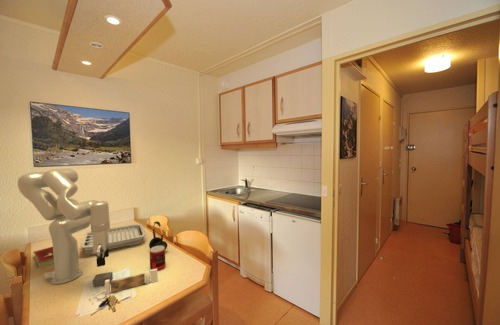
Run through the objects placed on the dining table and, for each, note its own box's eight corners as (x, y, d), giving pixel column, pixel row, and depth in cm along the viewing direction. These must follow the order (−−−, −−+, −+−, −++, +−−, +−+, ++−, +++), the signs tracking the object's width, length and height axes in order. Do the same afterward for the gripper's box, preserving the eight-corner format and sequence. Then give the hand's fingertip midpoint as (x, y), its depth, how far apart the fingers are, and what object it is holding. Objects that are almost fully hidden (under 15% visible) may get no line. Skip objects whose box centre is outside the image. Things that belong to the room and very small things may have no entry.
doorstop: (93, 288, 101) (92, 280, 100) (96, 282, 105) (96, 274, 105) (110, 285, 103) (109, 277, 103) (112, 279, 108) (112, 271, 108)
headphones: (155, 258, 128) (154, 226, 127) (147, 250, 138) (146, 220, 137) (169, 253, 134) (168, 222, 133) (160, 246, 144) (159, 217, 143)
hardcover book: (59, 250, 141) (59, 244, 141) (66, 260, 128) (65, 253, 128) (34, 257, 132) (33, 251, 132) (38, 269, 119) (38, 261, 119)
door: (110, 294, 96) (110, 283, 95) (111, 291, 98) (110, 281, 98) (144, 285, 102) (144, 275, 101) (145, 282, 104) (144, 273, 104)
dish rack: (146, 245, 147) (146, 234, 146) (79, 261, 127) (78, 248, 126) (141, 231, 173) (141, 222, 173) (85, 242, 153) (84, 231, 153)
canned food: (154, 264, 122) (153, 245, 121) (167, 264, 121) (167, 245, 121) (147, 271, 114) (146, 251, 113) (161, 271, 114) (161, 251, 113)
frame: (105, 295, 95) (104, 282, 95) (106, 292, 97) (105, 279, 97) (157, 281, 105) (157, 269, 105) (157, 279, 107) (157, 268, 106)
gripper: (95, 223, 109) (97, 255, 110) (86, 234, 93) (89, 272, 94) (112, 220, 112) (114, 252, 113) (106, 231, 97) (109, 267, 97)
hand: (103, 261), depth 103 cm, fingers open, 9 cm apart
